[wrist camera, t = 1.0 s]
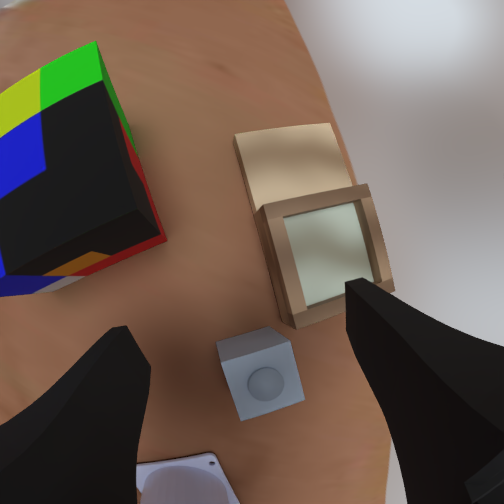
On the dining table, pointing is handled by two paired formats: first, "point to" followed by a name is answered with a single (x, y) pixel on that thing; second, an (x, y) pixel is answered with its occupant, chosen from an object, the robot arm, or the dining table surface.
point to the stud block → (260, 372)
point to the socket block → (310, 220)
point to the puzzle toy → (68, 178)
